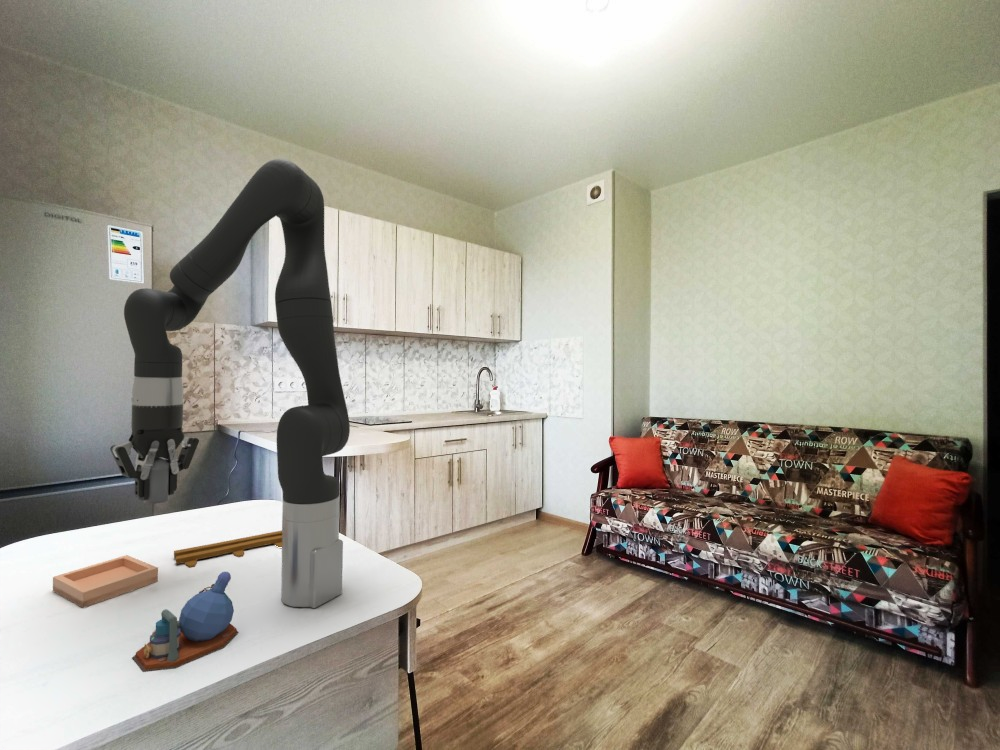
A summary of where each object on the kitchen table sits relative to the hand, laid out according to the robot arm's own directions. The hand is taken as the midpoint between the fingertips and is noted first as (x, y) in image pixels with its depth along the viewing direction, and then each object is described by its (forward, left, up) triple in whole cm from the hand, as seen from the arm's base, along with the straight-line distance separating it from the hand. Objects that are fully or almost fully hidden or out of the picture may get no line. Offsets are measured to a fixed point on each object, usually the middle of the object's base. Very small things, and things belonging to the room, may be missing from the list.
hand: (156, 496), depth 86 cm
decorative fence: (+1, -18, -16) cm, 25 cm away
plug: (0, 0, -1) cm, 1 cm away
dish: (+5, +5, -16) cm, 17 cm away
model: (-25, +8, -16) cm, 31 cm away
